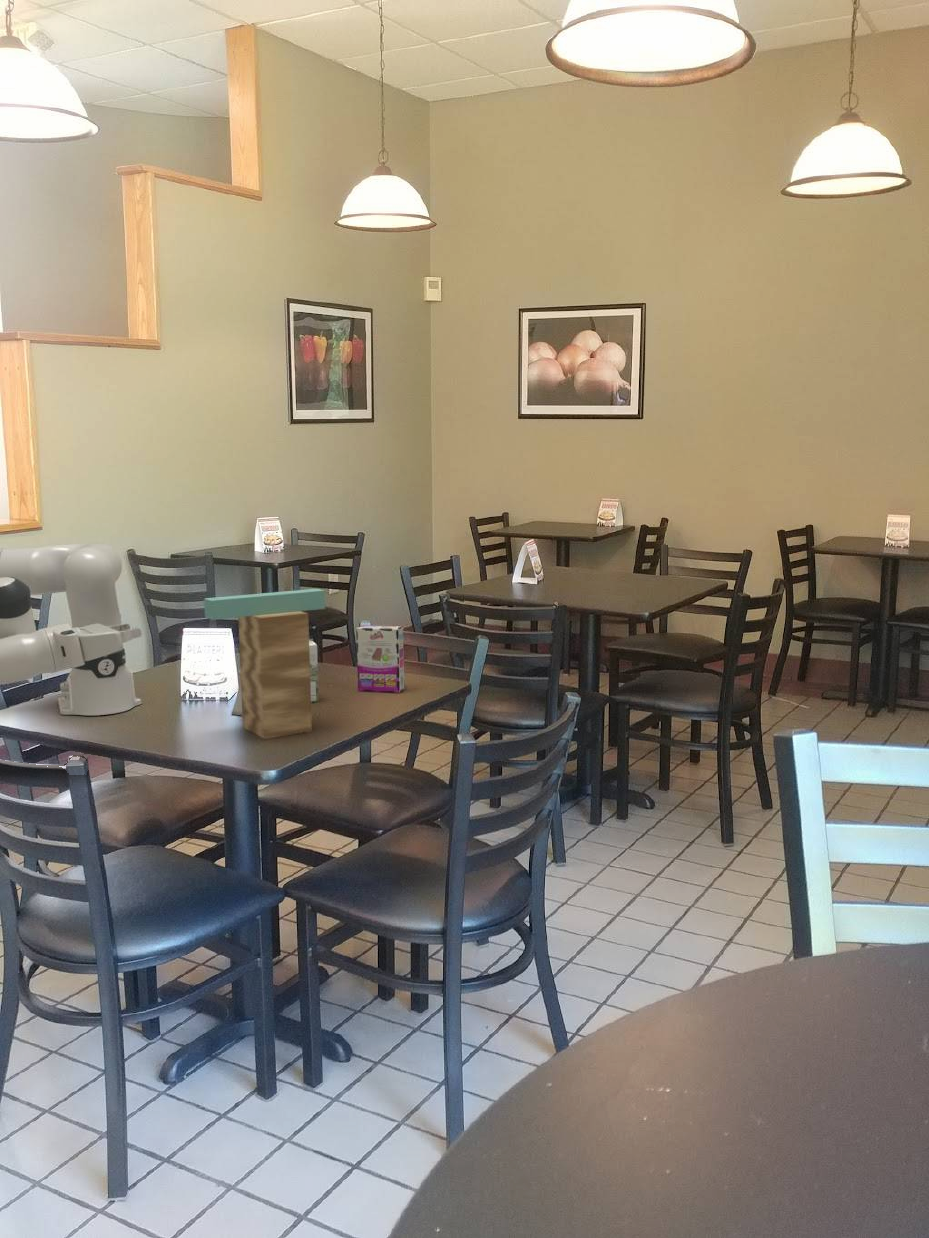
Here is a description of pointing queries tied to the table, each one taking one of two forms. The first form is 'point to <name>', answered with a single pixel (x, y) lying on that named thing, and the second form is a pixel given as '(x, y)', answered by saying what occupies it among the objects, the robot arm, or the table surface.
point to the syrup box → (313, 671)
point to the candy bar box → (380, 659)
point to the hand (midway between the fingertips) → (134, 629)
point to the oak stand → (275, 674)
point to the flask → (238, 701)
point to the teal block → (264, 603)
